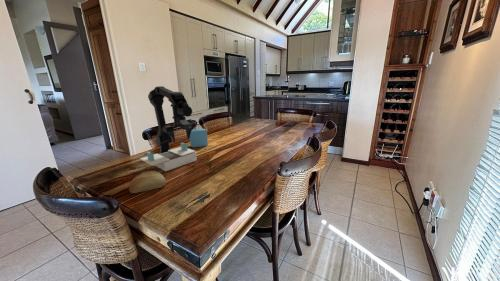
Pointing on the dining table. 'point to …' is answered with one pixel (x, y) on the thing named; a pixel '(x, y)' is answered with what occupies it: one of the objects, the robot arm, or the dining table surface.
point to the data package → (198, 138)
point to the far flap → (182, 150)
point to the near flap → (154, 158)
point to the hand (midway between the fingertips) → (181, 140)
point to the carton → (175, 160)
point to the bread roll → (147, 181)
